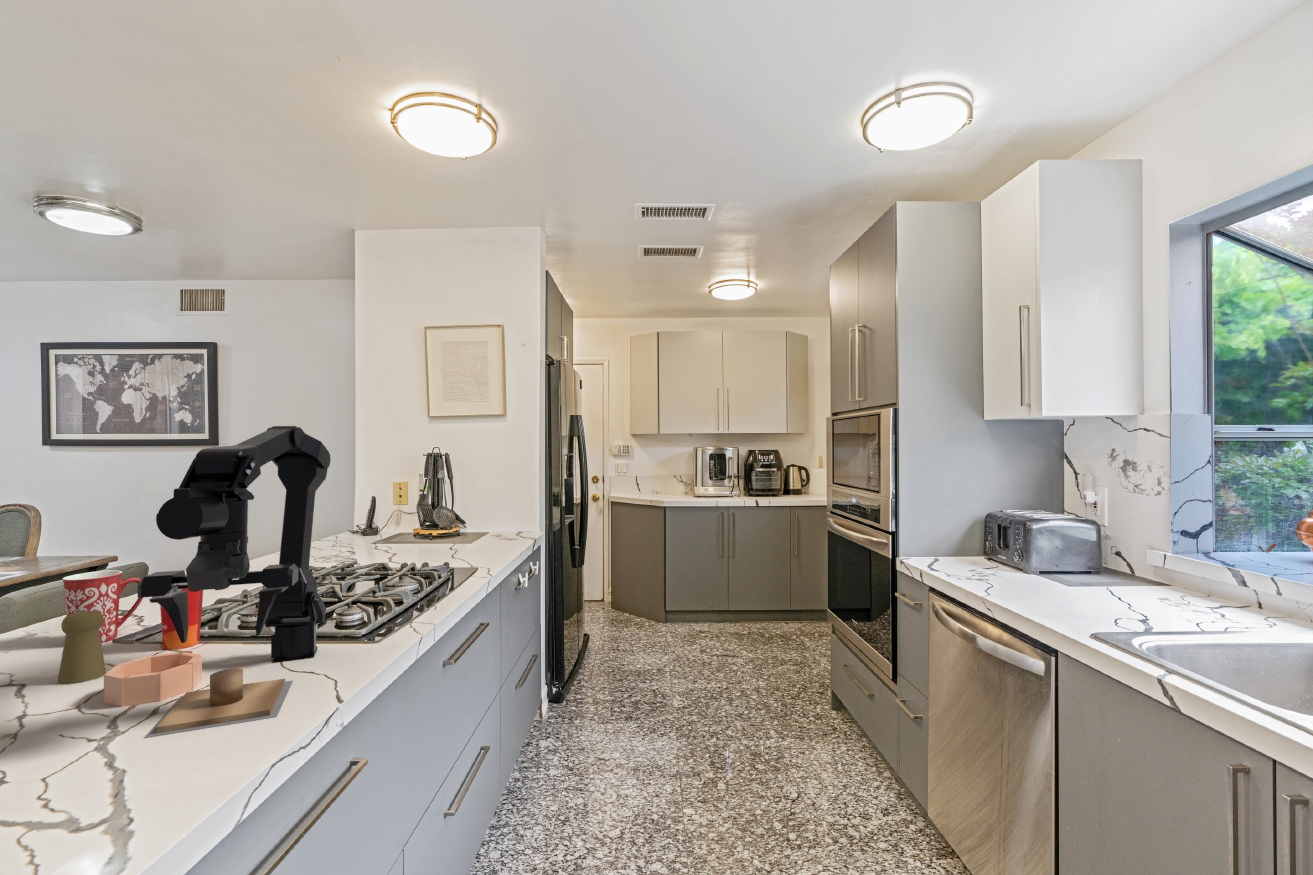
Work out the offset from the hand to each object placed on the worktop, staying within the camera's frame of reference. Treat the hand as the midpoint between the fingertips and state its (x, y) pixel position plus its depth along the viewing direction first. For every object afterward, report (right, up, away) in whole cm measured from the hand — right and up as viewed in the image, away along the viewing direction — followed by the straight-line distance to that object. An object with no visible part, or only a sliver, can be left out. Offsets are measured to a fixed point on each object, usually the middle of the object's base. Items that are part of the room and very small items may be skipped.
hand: (221, 638), depth 89 cm
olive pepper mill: (-33, -11, +14) cm, 38 cm away
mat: (+1, -10, 0) cm, 10 cm away
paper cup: (-30, -12, +30) cm, 44 cm away
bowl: (-15, -11, +6) cm, 19 cm away
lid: (+1, -10, 0) cm, 10 cm away
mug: (-49, -12, +35) cm, 62 cm away
